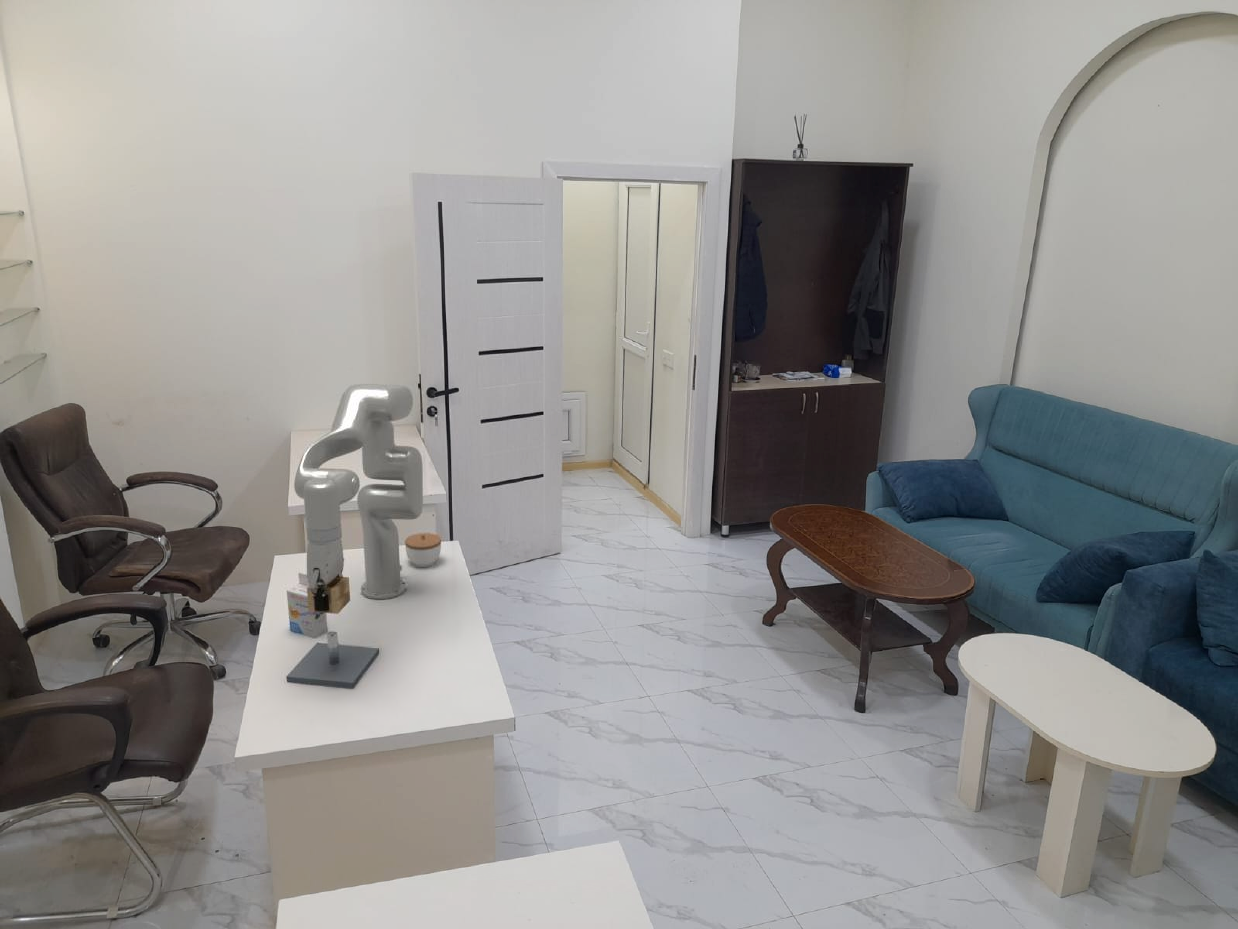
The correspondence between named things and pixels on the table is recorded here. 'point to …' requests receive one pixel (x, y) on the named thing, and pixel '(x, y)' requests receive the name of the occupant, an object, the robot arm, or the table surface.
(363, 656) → the slate board
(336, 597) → the oak frame
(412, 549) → the lidded jar
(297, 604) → the ink box
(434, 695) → the table surface
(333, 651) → the metal post
